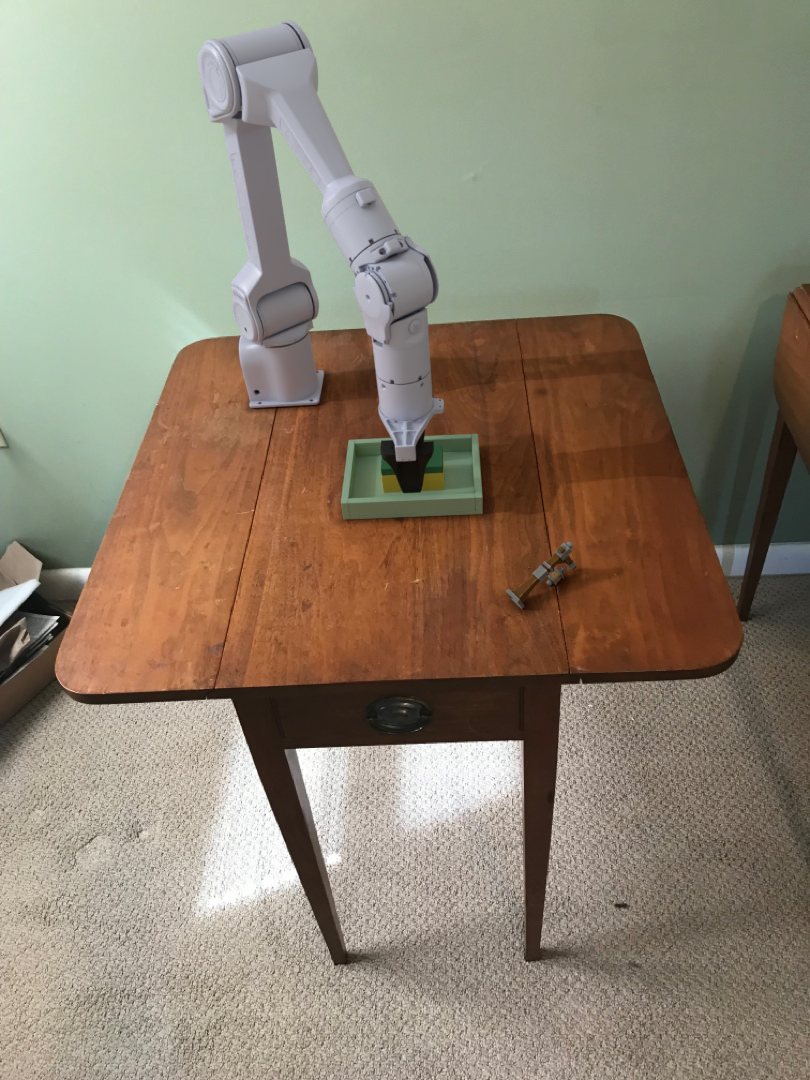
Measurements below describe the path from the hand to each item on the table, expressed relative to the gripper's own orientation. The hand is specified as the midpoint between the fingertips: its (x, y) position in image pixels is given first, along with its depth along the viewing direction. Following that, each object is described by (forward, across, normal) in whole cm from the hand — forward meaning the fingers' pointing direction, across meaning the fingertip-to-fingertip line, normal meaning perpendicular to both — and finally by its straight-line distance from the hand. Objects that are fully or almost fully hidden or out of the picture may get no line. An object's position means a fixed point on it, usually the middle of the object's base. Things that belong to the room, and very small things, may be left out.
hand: (412, 471), depth 89 cm
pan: (+2, 0, 0) cm, 2 cm away
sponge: (+1, 0, 0) cm, 1 cm away
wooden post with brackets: (+2, -17, -13) cm, 21 cm away
